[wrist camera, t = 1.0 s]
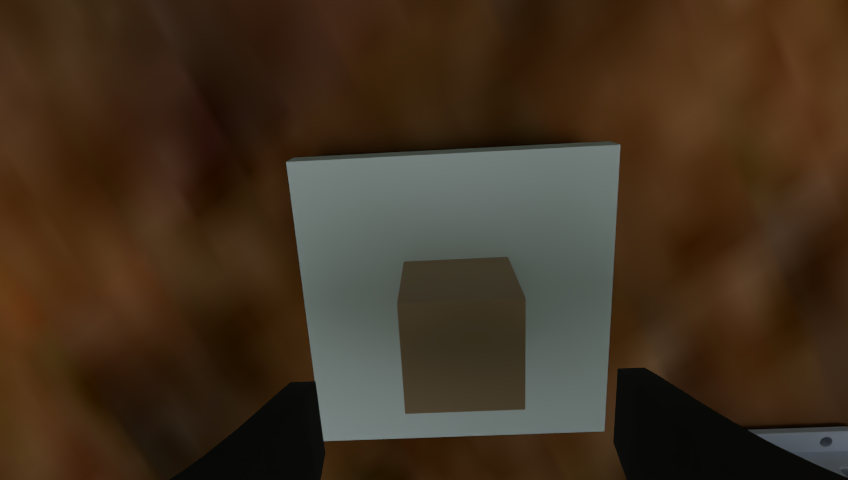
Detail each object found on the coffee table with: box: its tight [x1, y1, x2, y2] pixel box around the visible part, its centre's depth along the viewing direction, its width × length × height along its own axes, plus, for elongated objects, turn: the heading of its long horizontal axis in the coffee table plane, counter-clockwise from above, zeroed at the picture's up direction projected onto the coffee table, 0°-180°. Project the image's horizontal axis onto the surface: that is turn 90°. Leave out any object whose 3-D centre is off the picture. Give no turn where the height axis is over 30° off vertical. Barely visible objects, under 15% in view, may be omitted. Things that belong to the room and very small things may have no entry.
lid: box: [286, 141, 620, 441], centre depth 17 cm, size 11×11×4 cm
